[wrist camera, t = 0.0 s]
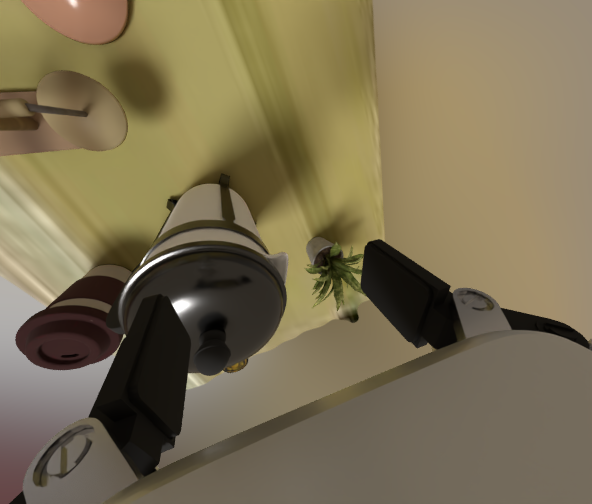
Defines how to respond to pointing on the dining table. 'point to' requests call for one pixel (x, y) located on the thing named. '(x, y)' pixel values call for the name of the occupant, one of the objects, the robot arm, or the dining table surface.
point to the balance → (61, 116)
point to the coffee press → (210, 278)
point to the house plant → (332, 268)
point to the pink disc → (83, 18)
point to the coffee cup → (75, 323)
